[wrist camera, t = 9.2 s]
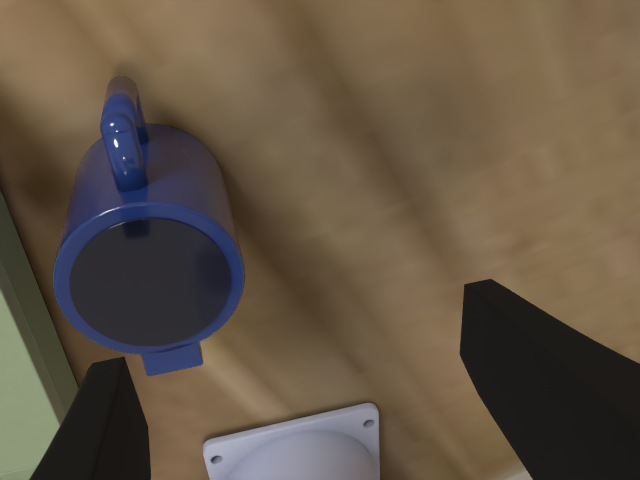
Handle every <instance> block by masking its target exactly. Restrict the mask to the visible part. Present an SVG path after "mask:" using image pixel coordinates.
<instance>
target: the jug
mask: <svg viewBox="0 0 640 480" xmlns="http://www.w3.org/2000/svg"><path fill="white" fill-rule="evenodd" d="M100 130H101V134H102V138H101V139H100V140H98V141H97V142H96V143H95V144H94V145H93V146H92V147H91V148H90V149H89V150H88V151H87V152H86V154H85V155H84V157H83V159H82V160H81V162H80V164H79V167H78V169H77V173H76V177H75V181H74V185H73V189H72V194H71V198H70V202H69V206H68V210H67V214H66V218H65V223H64V227H63V231H62V235H61V239H60V243H59V248H58V252H57V256H56V260H55V264H54V269H53V289H54V294H55V297H56V301H57V303H58V305H59V307H60V309H61V311H62V313H63V314H64V316H65V317H66V319H67V320H68V321H69V322H70V323H71V324H72V326H73V327H74V328H75V329H76V330H78V331H79V332H80V333H81V334H82V335H84V336H85V337H87V338H88V339H90V340H92V341H93V342H95V343H97V344H99V345H101V346H104V347H107V348H109V349H112V350H116V351H120V352H124V353H130V354H141V357H142V360H143V363H144V367H145V370H146V373H147V375H148V376H153V375H158V374H163V373H167V372H172V371H177V370H182V369H186V368H191V367H196V366H201V365H203V356H202V350H201V345H200V342H201V341H203V340H204V339H206V338H207V337H209V336H211V335H212V334H213V333H215V332H216V331H217V330H218V329H220V328H221V327H222V326H223V325H224V324H225V323H226V322H227V320H228V319H229V318H230V316H231V315H232V314H233V312H234V311H235V309H236V307H237V305H238V303H239V301H240V298H241V296H242V293H243V288H244V282H245V269H244V263H243V258H242V254H241V250H240V246H239V241H238V237H237V233H236V229H235V224H234V220H233V216H232V211H231V207H230V203H229V199H228V194H227V190H226V186H225V181H224V177H223V173H222V171H221V168H220V166H219V164H218V162H217V160H216V159H215V157H214V156H213V154H212V153H211V152H210V150H209V149H208V148H207V147H206V146H205V145H204V144H203V143H201V142H200V141H199V140H197V139H196V138H195V137H193V136H191V135H189V134H188V133H186V132H183V131H181V130H179V129H176V128H173V127H169V126H164V125H158V124H145V120H144V116H143V111H142V107H141V103H140V98H139V94H138V90H137V86H136V84H135V82H134V81H133V80H132V79H130V78H129V77H126V76H117V77H114V78H113V79H112V80H111V81H110V82H109V84H108V87H107V93H106V98H105V103H104V108H103V113H102V118H101V124H100Z"/></svg>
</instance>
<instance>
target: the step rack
mask: <svg viewBox="0 0 640 480" xmlns="http://www.w3.org/2000/svg"><path fill="white" fill-rule="evenodd" d="M78 390H79V389H78V386H77V383H76V381H75V378H74V376H73V373H72V371H71V368H70V366H69V363H68V361H67V358H66V356H65V353H64V350H63V348H62V345H61V343H60V340H59V338H58V335H57V333H56V330H55V328H54V325H53V322H52V320H51V317H50V315H49V312H48V310H47V307H46V305H45V302H44V300H43V297H42V294H41V292H40V289H39V287H38V284H37V282H36V279H35V277H34V274H33V272H32V269H31V267H30V264H29V261H28V259H27V256H26V254H25V251H24V249H23V246H22V244H21V241H20V239H19V236H18V233H17V231H16V228H15V226H14V223H13V221H12V218H11V216H10V213H9V211H8V208H7V205H6V203H5V200H4V198H3V195H2V193H1V190H0V480H29V479H30V477H31V475H32V474H33V472H34V471H35V469H36V467H37V466H38V464H39V463H40V461H41V459H42V457H43V456H44V454H45V452H46V450H47V449H48V447H49V445H50V443H51V441H52V440H53V438H54V436H55V434H56V432H57V430H58V429H59V427H60V425H61V423H62V421H63V419H64V417H65V416H66V414H67V412H68V410H69V408H70V406H71V404H72V402H73V400H74V398H75V396H76V394H77V392H78Z"/></svg>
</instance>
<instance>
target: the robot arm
mask: <svg viewBox="0 0 640 480" xmlns="http://www.w3.org/2000/svg"><path fill="white" fill-rule="evenodd" d="M460 356H461V358H462V361H463V363H464V365H465V367H466V369H467V372H468V374H469V376H470V378H471V380H472V382H473V384H474V386H475V388H476V390H477V392H478V395H479V396H480V398H481V399H482V401H483V403H484V404H485V406H486V407H487V409H488V411H489V412H490V414H491V415H492V417H493V418H494V420H495V422H496V423H497V425H498V426H499V428H500V429H501V431H502V432H503V434H504V436H505V437H506V439H507V440H508V442H509V443H510V445H511V446H512V448H513V449H514V451H515V453H516V454H517V456H518V457H519V459H520V460H521V462H522V463H523V465H524V466H525V468H526V470H527V471H528V473H529V474H530V476H531V477H532V479H533V480H640V364H639V363H637V362H635V361H633V360H631V359H629V358H627V357H625V356H623V355H621V354H619V353H617V352H615V351H613V350H611V349H609V348H607V347H605V346H604V345H602V344H600V343H598V342H596V341H594V340H592V339H591V338H589V337H587V336H585V335H583V334H582V333H580V332H578V331H576V330H575V329H573V328H571V327H569V326H568V325H566V324H564V323H563V322H561V321H559V320H558V319H556V318H554V317H553V316H551V315H549V314H548V313H546V312H544V311H543V310H541V309H539V308H538V307H536V306H535V305H533V304H531V303H530V302H528V301H527V300H525V299H523V298H522V297H520V296H518V295H517V294H515V293H514V292H512V291H510V290H509V289H507V288H506V287H504V286H502V285H501V284H499V283H497V282H495V281H494V280H492V279H488V280H483V281H478V282H474V283H469V284H465V285H464V299H463V314H462V328H461V343H460ZM367 420H368V421H367ZM203 456H204V459H205V463H206V467H207V471H208V475H209V479H210V480H380V458H379V412H378V410H377V407H376V405H375V404H373V403H364V404H360V405H355V406H351V407H347V408H342V409H338V410H334V411H329V412H325V413H321V414H316V415H312V416H308V417H303V418H299V419H294V420H290V421H286V422H281V423H277V424H273V425H268V426H264V427H260V428H255V429H251V430H247V431H242V432H238V433H234V434H229V435H225V436H221V437H216V438H212V439H209V440H208V441H206V442H205V443H204V445H203ZM214 456H217V457H214ZM29 480H151V468H150V450H149V435H148V425H147V422H146V419H145V416H144V413H143V411H142V408H141V405H140V402H139V399H138V396H137V393H136V390H135V387H134V384H133V381H132V378H131V375H130V372H129V369H128V366H127V363H126V360H125V357H120V358H115V359H110V360H106V361H101V362H96V363H92V365H91V366H90V367H89V369H88V371H87V373H86V375H85V377H84V379H83V381H82V383H81V385H80V388H79V390H78V392H77V394H76V396H75V398H74V400H73V402H72V404H71V406H70V408H69V410H68V412H67V414H66V416H65V417H64V419H63V421H62V423H61V425H60V427H59V429H58V430H57V432H56V434H55V436H54V438H53V440H52V441H51V443H50V445H49V447H48V449H47V450H46V452H45V454H44V456H43V457H42V459H41V461H40V463H39V464H38V466H37V467H36V469H35V471H34V472H33V474H32V475H31V477H30V479H29Z"/></svg>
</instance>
